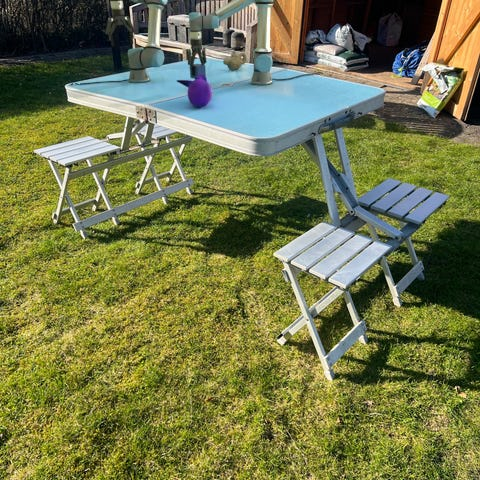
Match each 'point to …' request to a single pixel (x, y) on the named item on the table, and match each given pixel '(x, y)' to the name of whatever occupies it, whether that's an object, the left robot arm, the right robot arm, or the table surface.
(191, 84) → the toy
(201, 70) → the brick
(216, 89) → the table surface
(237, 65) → the teapot
